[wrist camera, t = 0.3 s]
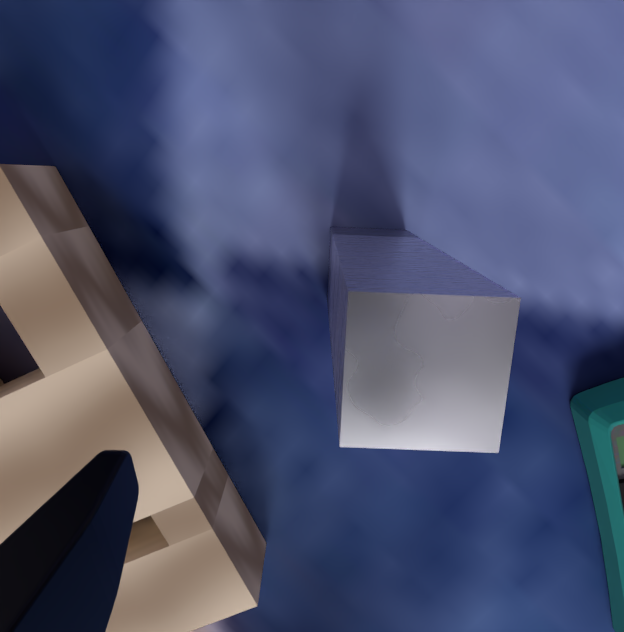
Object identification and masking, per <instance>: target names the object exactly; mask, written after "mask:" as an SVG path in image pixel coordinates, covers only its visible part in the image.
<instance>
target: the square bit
mask: <svg viewBox="0 0 624 632" xmlns="http://www.w3.org/2000/svg"><path fill="white" fill-rule="evenodd" d="M520 299H521V298H520V297H518V296H517V295H515V294H513V293H512V292H510V291H508V290H507V289H505V288H503V287H501V286H500V285H498V284H496V283H495V282H493V281H491V280H490V279H488V278H486V277H485V276H483V275H481V274H480V273H478V272H476V271H474V270H473V269H471V268H469V267H468V266H466V265H464V264H463V263H461V262H459V261H458V260H456V259H454V258H453V257H451V256H449V255H447V254H446V253H444V252H442V251H441V250H439V249H437V248H436V247H434V246H432V245H431V244H429V243H427V242H426V241H424V240H422V239H421V238H419V237H417V236H415V235H414V234H412V233H410V232H409V231H407V230H398V229H372V228H346V227H330V249H329V271H328V293H327V304H328V316H329V328H330V339H331V351H332V363H333V375H334V387H335V398H336V410H337V422H338V434H339V446H340V447H354V448H381V449H407V450H434V451H460V452H487V453H499V446H500V439H501V432H502V425H503V418H504V411H505V404H506V397H507V390H508V383H509V376H510V369H511V362H512V355H513V348H514V341H515V334H516V327H517V320H518V313H519V306H520Z"/></svg>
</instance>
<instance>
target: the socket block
mask: <svg viewBox="0 0 624 632" xmlns="http://www.w3.org/2000/svg"><path fill="white" fill-rule="evenodd" d="M0 305H1V307H2V309H3V310H4V312H5V313H6V315H7V317H8V318H9V320H10V321H11V323H12V325H13V326H14V328H15V329H16V331H17V333H18V334H19V336H20V337H21V339H22V340H23V342H24V344H25V345H26V347H27V348H28V350H29V352H30V353H31V355H32V356H33V358H34V360H35V361H36V363H37V364H38V366H39V368H38V369H36V370H34V371H32V372H29V373H27V374H25V375H23V376H21V377H19V378H16V379H14V380H12V381H10V382H8V383H6V384H4V383H3V381H2V380H1V378H0V544H1V543H2V542H3V541H4V540H5V539H6V538H7V537H8V536H10V535H11V534H12V533H13V532H14V531H15V530H16V529H17V528H18V527H19V526H20V525H21V524H23V523H24V522H25V521H26V520H27V519H28V518H29V517H30V516H31V515H32V514H33V513H34V512H36V511H37V510H38V509H39V508H40V507H41V506H42V505H43V504H44V503H45V502H46V501H47V500H48V499H50V498H51V497H52V496H53V495H54V494H55V493H56V492H57V491H58V490H59V489H60V488H61V487H63V486H64V485H65V484H66V483H67V482H68V481H69V480H70V479H71V478H72V477H73V476H74V475H75V474H77V473H78V472H79V471H80V470H81V469H82V468H83V467H84V466H85V465H86V464H87V463H88V462H90V461H91V460H92V459H93V458H94V457H95V456H96V455H97V454H98V453H100V452H101V451H104V450H125V451H128V452H129V453H130V454H131V457H132V460H133V464H134V468H135V472H136V476H137V480H138V484H139V495H138V501H137V506H136V511H135V515H134V520H133V525H132V529H131V534H130V538H129V543H128V548H127V552H126V557H125V562H124V566H123V571H122V576H121V580H120V584H119V589H118V593H117V596H116V600H115V603H114V606H113V610H112V613H111V616H110V619H109V622H108V625H107V628H106V631H105V632H190V631H193V630H195V629H198V628H201V627H203V626H206V625H209V624H211V623H214V622H217V621H219V620H222V619H225V618H227V617H230V616H233V615H235V614H238V613H241V612H243V611H246V610H249V609H251V608H254V607H256V606H258V600H259V593H260V586H261V578H262V571H263V564H264V557H265V549H266V541H265V540H264V538H263V536H262V534H261V533H260V531H259V529H258V527H257V525H256V524H255V522H254V520H253V518H252V516H251V515H250V513H249V511H248V509H247V508H246V506H245V504H244V502H243V500H242V499H241V497H240V495H239V493H238V492H237V490H236V488H235V486H234V484H233V483H232V481H231V479H230V477H229V475H228V474H227V472H226V470H225V468H224V467H223V465H222V463H221V461H220V459H219V458H218V456H217V454H216V452H215V450H214V449H213V447H212V445H211V443H210V442H209V440H208V438H207V436H206V434H205V433H204V431H203V429H202V427H201V425H200V424H199V422H198V420H197V418H196V417H195V415H194V413H193V411H192V409H191V408H190V406H189V404H188V402H187V400H186V399H185V397H184V395H183V393H182V392H181V390H180V388H179V386H178V384H177V383H176V381H175V379H174V377H173V376H172V374H171V372H170V370H169V368H168V367H167V365H166V363H165V361H164V359H163V358H162V356H161V354H160V352H159V351H158V349H157V347H156V345H155V343H154V342H153V340H152V338H151V336H150V334H149V333H148V331H147V329H146V327H145V326H144V324H143V322H142V320H141V318H140V317H139V315H138V313H137V311H136V309H135V308H134V306H133V304H132V302H131V301H130V299H129V297H128V295H127V293H126V292H125V290H124V288H123V286H122V285H121V283H120V281H119V279H118V277H117V276H116V274H115V272H114V270H113V268H112V267H111V265H110V263H109V261H108V260H107V258H106V256H105V254H104V252H103V251H102V249H101V247H100V245H99V243H98V242H97V240H96V238H95V236H94V235H93V233H92V231H91V229H90V227H89V226H88V224H87V222H86V220H85V218H84V217H83V215H82V213H81V211H80V210H79V208H78V206H77V204H76V202H75V201H74V199H73V197H72V195H71V193H70V192H69V190H68V188H67V186H66V185H65V183H64V181H63V179H62V177H61V176H60V174H59V172H58V170H57V169H56V167H55V166H36V165H12V164H0Z"/></svg>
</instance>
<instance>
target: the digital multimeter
mask: <svg viewBox="0 0 624 632" xmlns="http://www.w3.org/2000/svg"><path fill="white" fill-rule="evenodd" d="M570 407H571V411H572V415H573V419H574V423H575V427H576V431H577V435H578V438H579V442H580V446H581V450H582V454H583V458H584V462H585V466H586V470H587V474H588V478H589V483H590V488H591V492H592V497H593V502H594V507H595V512H596V516H597V521H598V526H599V531H600V536H601V542H602V549H603V555H604V562H605V569H606V575H607V582H608V588H609V597H610V605H611V614H612V622H613V628H614V630H615V632H624V510H623V508H624V377H623V378H620V379H617V380H614V381H611V382H608V383H605V384H602V385H600V386H597V387H594V388H591V389H589V390H586V391H583V392H580V393H578V394H576V395H574V397H573V398H572V399H571V403H570ZM619 485H620V487H619ZM620 490H621V493H620ZM621 496H622V498H621ZM622 502H623V504H622Z"/></svg>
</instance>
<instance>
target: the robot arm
mask: <svg viewBox="0 0 624 632" xmlns="http://www.w3.org/2000/svg"><path fill="white" fill-rule="evenodd" d="M138 495H139V484H138V480H137V476H136V472H135V468H134V464H133V460H132V457H131V454H130V453H129V452H128V451H125V450H104V451H101V452H100V453H98V454H97V455H96V456H95V457H94V458H93V459H92V460H91V461H90V462H88V463H87V464H86V465H85V466H84V467H83V468H82V469H81V470H80V471H79V472H78V473H77V474H75V475H74V476H73V477H72V478H71V479H70V480H69V481H68V482H67V483H66V484H65V485H64V486H63V487H61V488H60V489H59V490H58V491H57V492H56V493H55V494H54V495H53V496H52V497H51V498H50V499H48V500H47V501H46V502H45V503H44V504H43V505H42V506H41V507H40V508H39V509H38V510H37V511H36V512H34V513H33V514H32V515H31V516H30V517H29V518H28V519H27V520H26V521H25V522H24V523H23V524H21V525H20V526H19V527H18V528H17V529H16V530H15V531H14V532H13V533H12V534H11V535H10V536H8V537H7V538H6V539H5V540H4V541H3V542H2V543H1V544H0V632H105V631H106V628H107V625H108V622H109V619H110V616H111V613H112V610H113V606H114V603H115V600H116V596H117V593H118V589H119V584H120V580H121V576H122V571H123V566H124V562H125V557H126V552H127V548H128V543H129V538H130V534H131V529H132V525H133V520H134V515H135V511H136V506H137V501H138Z"/></svg>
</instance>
